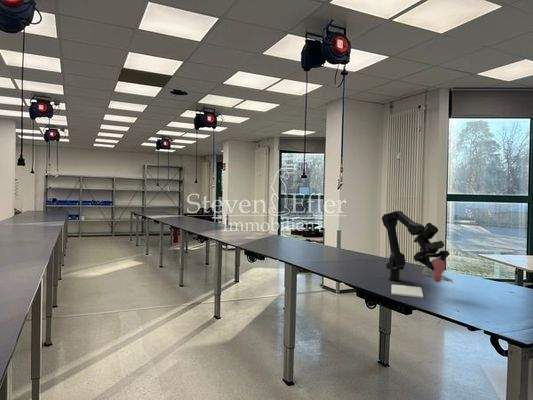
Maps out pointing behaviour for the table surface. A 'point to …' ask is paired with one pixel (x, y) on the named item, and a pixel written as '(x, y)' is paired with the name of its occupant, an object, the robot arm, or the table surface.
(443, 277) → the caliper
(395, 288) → the mat
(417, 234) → the robot arm
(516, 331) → the table surface
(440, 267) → the light bulb
